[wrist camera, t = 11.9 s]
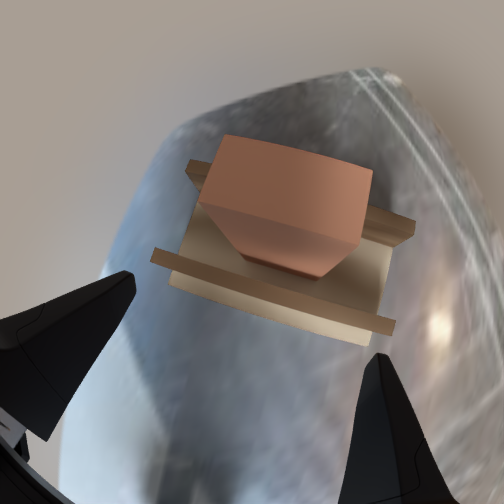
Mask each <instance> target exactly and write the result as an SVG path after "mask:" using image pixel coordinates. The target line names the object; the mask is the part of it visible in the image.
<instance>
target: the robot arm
mask: <svg viewBox="0 0 504 504" xmlns="http://www.w3.org/2000/svg"><path fill="white" fill-rule="evenodd" d="M135 295H136V283H135V277H134V275H133V273H131V272H128V271H125V270H123V271H120V272H118V273H115V274H113V275H110V276H108V277H105V278H103V279H101V280H98V281H96V282H93V283H91V284H88V285H86V286H83V287H81V288H79V289H76V290H74V291H72V292H69V293H67V294H65V295H62V296H60V297H57V298H55V299H53V300H50V301H48V302H46V303H43V304H41V305H39V306H36V307H34V308H31V309H29V310H26V311H23V312H21V313H18V314H15V315H12V316H9V317H6V318H3V319H0V504H75V503H73V502H72V501H71V500H69V499H68V498H67V497H65V496H64V495H63V494H62V493H60V492H59V491H58V490H56V489H55V488H54V487H53V486H52V485H50V484H49V483H48V482H47V481H46V480H45V479H43V478H42V477H41V476H40V475H39V474H38V473H37V472H36V471H35V470H34V469H32V468H31V467H30V466H29V465H28V464H27V462H28V461H29V459H30V456H29V451H28V445H27V438H26V433H25V431H26V430H27V429H28V430H30V431H31V432H33V433H34V434H35V435H37V436H38V437H40V438H41V439H43V440H44V441H45V442H47V441H48V439H49V438H50V436H51V434H52V432H53V430H54V429H55V427H56V425H57V423H58V421H59V420H60V418H61V416H62V414H63V413H64V411H65V409H66V408H67V406H68V404H69V402H70V400H71V399H72V397H73V395H74V394H75V392H76V390H77V389H78V387H79V386H80V384H81V382H82V381H83V379H84V378H85V376H86V374H87V373H88V371H89V370H90V368H91V366H92V365H93V363H94V362H95V360H96V359H97V357H98V356H99V354H100V353H101V351H102V350H103V348H104V346H105V345H106V343H107V342H108V341H109V339H110V338H111V336H112V335H113V333H114V332H115V330H116V329H117V327H118V325H119V324H120V322H121V320H122V318H123V317H124V315H125V313H126V311H127V309H128V307H129V306H130V304H131V302H132V300H133V298H134V297H135ZM338 504H460V503H458V502H457V501H456V500H455V499H454V498H453V496H452V495H451V493H450V491H449V489H448V487H447V485H446V483H445V481H444V479H443V477H442V475H441V473H440V471H439V469H438V466H437V464H436V462H435V460H434V458H433V456H432V453H431V451H430V448H429V446H428V443H427V441H426V438H424V434H423V431H422V429H421V426H420V424H419V422H418V419H417V417H416V414H415V412H414V410H413V408H412V405H411V403H410V401H409V399H408V396H407V394H406V392H405V390H404V388H403V385H402V383H401V381H400V379H399V377H398V375H397V373H396V371H395V368H394V366H393V364H392V362H391V360H390V358H389V356H388V355H386V354H382V353H376V354H375V355H374V356H373V358H372V359H371V360H370V362H369V363H368V364H367V366H366V367H365V370H364V375H363V379H362V384H361V389H360V393H359V397H358V401H357V406H356V411H355V418H354V425H353V431H352V438H351V444H350V449H349V455H348V460H347V465H346V470H345V475H344V479H343V484H342V488H341V492H340V496H339V500H338Z"/></svg>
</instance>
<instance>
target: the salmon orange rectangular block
mask: <svg viewBox="0 0 504 504" xmlns="http://www.w3.org/2000/svg"><path fill="white" fill-rule="evenodd" d="M372 174H373V170H370V169H367V168H364V167H360V166H357V165H354V164H351V163H348V162H344V161H341V160H337V159H334V158H330V157H327V156H323V155H319V154H316V153H312V152H308V151H304V150H300V149H296V148H292V147H287V146H283V145H279V144H274V143H269V142H265V141H260V140H255V139H250V138H244V137H239V136H233V135H228V134H225V135H224V137H223V139H222V142H221V144H220V146H219V149H218V151H217V153H216V156H215V158H214V160H213V163H212V165H211V168H210V170H209V172H208V175H207V177H206V180H205V182H204V185H203V187H202V190H201V192H200V195H199V198H198V200H197V201H198V203H199V204H200V205H201V206H202V208H203V209H204V210H205V211H206V213H207V214H208V215H209V216H210V218H211V219H212V220H213V221H214V223H215V224H216V225H217V226H218V228H219V229H220V230H221V231H222V232H223V234H224V235H225V236H226V237H227V239H228V240H229V241H230V242H231V244H232V245H233V246H234V247H235V249H236V250H237V251H238V252H239V253H240V255H241V256H242V257H243V258H244V260H246V261H249V262H253V263H256V264H259V265H263V266H266V267H269V268H273V269H276V270H280V271H283V272H286V273H290V274H293V275H296V276H300V277H303V278H307V279H310V280H314V281H318V280H319V279H320V278H321V277H322V276H324V275H325V274H326V273H327V272H329V271H330V270H331V269H332V268H333V267H335V266H336V265H337V264H338V263H339V262H341V261H342V260H343V259H344V258H345V257H346V256H348V255H349V254H350V253H351V252H352V251H353V250H355V249H356V248H357V247H358V246H359V243H360V239H361V234H362V229H363V224H364V220H365V214H366V209H367V204H368V198H369V192H370V186H371V180H372Z"/></svg>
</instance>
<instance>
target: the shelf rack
mask: <svg viewBox="0 0 504 504" xmlns="http://www.w3.org/2000/svg"><path fill="white" fill-rule="evenodd" d="M211 165H212V163H207V162H202V161H197V160H191V159H190V161H189V163H188V165H187V168H186V170H185V172H186V174H187V175H188V177H189V178H190V179H191V181H192V182H193V184H194V185H195V186H196V188H197V189H198V191H199V192H201V190H202V187H203V185H204V182H205V180H206V177H207V175H208V172H209V170H210V168H211ZM415 224H416V221H414V220H411V219H409V218H406V217H403V216H400V215H398V214H395V213H392V212H389V211H386V210H383V209H380V208H377V207H374V206H371V205H368V204H367V209H366V214H365V220H364V224H363V229H362V234H361V239H360V243H359V246H358V247H357V248H356V249H355V250H353V251H352V252H351V253H350V254H349V255H348V256H346V257H345V258H344V259H343V260H342V261H341V262H339V263H338V264H337V265H336V266H335V267H333V268H332V269H331V270H330V271H329V272H327V273H326V274H325V275H324V276H322V277H321V278H320V279H319V280H318V281H314V280H310V279H307V278H303V277H300V276H296V275H293V274H290V273H286V272H283V271H280V270H276V269H273V268H269V267H266V266H263V265H259V264H256V263H253V262H249V261H246V260H244V258H243V257H242V256H241V255H240V253H239V252H238V251H237V250H236V249H235V247H234V246H233V245H232V244H231V242H230V241H229V240H228V239H227V237H226V236H225V235H224V234H223V232H222V231H221V230H220V229H219V228H218V226H217V225H216V224H215V223H214V221H213V220H212V219H211V218H210V216H209V215H208V214H207V213H206V211H205V210H204V209H203V208H202V206H201V205H200V204H199V203H198V201H197V203H196V206H195V209H194V211H193V214H192V217H191V219H190V222H189V225H188V227H187V230H186V233H185V235H184V238H183V241H182V244H181V247H180V250H179V252H178V255H177V254H174V253H171V252H168V251H165V250H162V249H159V248H156V247H155V248H154V251H153V254H152V257H151V260H150V262H152V263H155V264H158V265H160V266H163V267H166V268H169V269H171V270H172V273H171V276H170V279H169V282H168V285H171V286H173V287H176V288H179V289H181V290H184V291H187V292H190V293H192V294H195V295H198V296H201V297H204V298H206V299H209V300H212V301H215V302H218V303H221V304H224V305H227V306H230V307H233V308H236V309H239V310H242V311H245V312H248V313H251V314H254V315H257V316H260V317H263V318H267V319H270V320H273V321H276V322H279V323H283V324H286V325H289V326H293V327H296V328H300V329H303V330H306V331H310V332H313V333H317V334H320V335H324V336H328V337H331V338H335V339H339V340H343V341H346V342H350V343H354V344H358V345H362V346H366V347H368V344H369V341H370V338H371V335H372V332H376V333H380V334H384V335H388V336H392V333H393V330H394V326H395V323H396V320H392V319H389V318H385V317H381V316H378V315H377V314H378V310H379V307H380V303H381V299H382V295H383V291H384V287H385V283H386V278H387V274H388V269H389V265H390V260H391V255H392V250H393V248H394V247H395V246H397V245H399V244H400V243H402V242H404V241H405V240H407V239H408V238H410V237H412V236H413V235H414V231H415Z"/></svg>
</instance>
